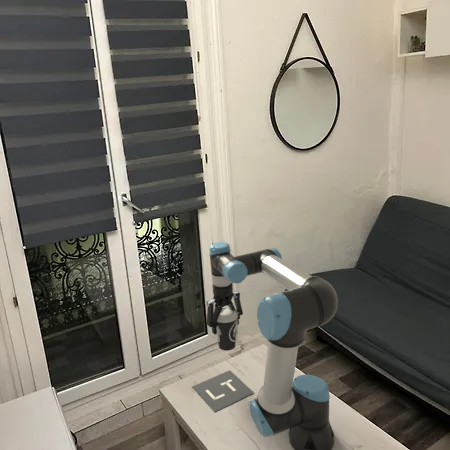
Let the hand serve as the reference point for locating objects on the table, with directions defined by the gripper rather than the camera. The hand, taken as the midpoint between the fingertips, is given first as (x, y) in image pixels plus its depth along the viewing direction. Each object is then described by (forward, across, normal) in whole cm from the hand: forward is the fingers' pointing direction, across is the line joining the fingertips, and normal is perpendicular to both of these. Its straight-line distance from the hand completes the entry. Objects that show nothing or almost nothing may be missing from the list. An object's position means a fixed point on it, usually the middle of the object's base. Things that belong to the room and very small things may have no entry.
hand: (226, 336), depth 183 cm
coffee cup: (+4, 0, 0) cm, 4 cm away
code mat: (+23, +4, 0) cm, 23 cm away
